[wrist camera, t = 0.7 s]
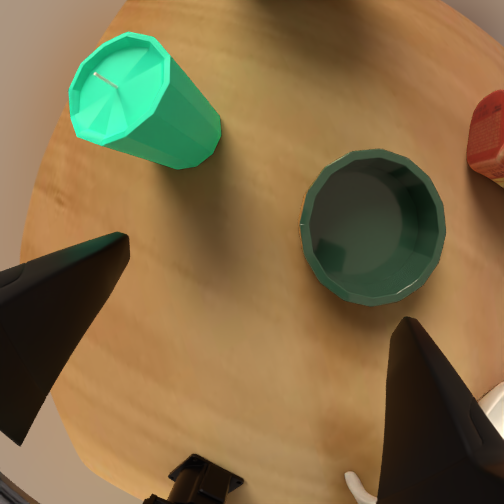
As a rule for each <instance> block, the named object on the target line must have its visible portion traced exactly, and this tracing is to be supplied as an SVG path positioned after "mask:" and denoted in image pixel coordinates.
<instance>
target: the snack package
mask: <svg viewBox="0 0 504 504" xmlns="http://www.w3.org/2000/svg"><path fill="white" fill-rule="evenodd" d="M467 162H468V164H469V166H470V167H471V168H472V169H473V170H474V171H476V172H478V173H480V174H483V175H485V176H486V177H488V178H490V179H491V180H492V181H494V182H496V183H497V184H499V185H500V186H501V187H503V188H504V90H497V91H494V92H492V93H491V94H489V95H488V96H486V97H485V98H483V100H482V101H481V102H479V104H478V105H477V107H476V109H475V110H474V113H473V116H472V120H471V124H470V131H469V138H468V145H467Z"/></svg>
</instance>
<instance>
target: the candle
mask: <svg viewBox="0 0 504 504" xmlns="http://www.w3.org/2000/svg"><path fill="white" fill-rule="evenodd" d="M68 91H69V106H70V118H71V121H72V124H73V127H74V130H75V133H76V135H77V137H79V138H82V139H84V140H87V141H90V142H92V143H95V144H98V145H100V146H104V147H107V148H110V149H114V150H117V151H120V152H124V153H127V154H130V155H133V156H136V157H140V158H143V159H146V160H149V161H152V162H155V163H158V164H161V165H164V166H167V167H170V168H173V169H176V170H179V169H185V168H191V167H197V166H198V165H199V164H200V163H202V162H203V161H204V160H206V159H207V158H208V157H209V156H211V155H212V154H213V152H214V150H215V148H216V146H217V144H218V142H219V140H220V137H221V124H220V116H219V115H218V113H217V112H216V111H215V110H214V108H213V107H212V106H211V104H210V103H209V102H208V101H207V99H206V98H205V97H204V96H203V94H202V93H201V92H200V91H199V90H198V88H197V87H196V86H195V85H194V83H193V82H192V81H191V80H190V79H189V77H188V76H187V75H186V74H185V72H184V71H183V70H182V69H181V68H180V66H179V65H178V64H177V63H176V62H175V61H174V59H173V58H172V57H171V56H170V55H169V54H168V52H167V51H166V50H165V49H164V48H163V47H162V45H161V44H160V43H159V42H158V41H157V40H156V39H155V38H154V37H152V36H147V35H143V34H138V33H133V32H126V33H124V34H121V35H119V36H117V37H115V38H113V39H111V40H109V41H107V42H105V43H103V44H102V45H101V46H100V47H98V48H97V49H96V50H95V51H94V52H93V53H92V54H90V55H89V56H88V57H87V58H86V59H85V60H84V61H83V62H82V63H81V64H80V66H79V68H78V70H77V73H76V74H75V77H74V79H73V81H72V83H71V85H70V88H69V90H68Z"/></svg>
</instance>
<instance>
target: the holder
mask: <svg viewBox="0 0 504 504" xmlns="http://www.w3.org/2000/svg"><path fill="white" fill-rule="evenodd" d="M298 228H299V235H300V241H301V248H302V251H303V254H304V257H305V259H306V260H307V262H308V264H309V265H310V267H311V269H312V270H313V272H314V274H315V276H316V277H317V279H318V281H319V282H320V283H321V284H322V285H323V286H325V287H326V288H327V289H329V290H330V291H332V292H333V293H334V294H336V295H337V296H338V297H340V298H341V299H342V300H344V301H348V302H352V303H356V304H361V305H365V306H369V307H373V306H379V305H384V304H389V303H394V302H399V301H401V300H402V299H404V298H405V297H407V296H408V295H410V294H411V293H413V292H414V291H416V290H417V289H419V288H420V287H422V286H423V285H424V283H425V282H426V280H427V279H428V278H429V276H430V275H431V273H432V272H433V270H434V269H435V267H436V266H437V264H438V263H439V260H440V256H441V253H442V249H443V245H444V240H445V236H446V225H445V215H444V207H443V203H442V201H441V199H440V196H439V194H438V192H437V190H436V188H435V186H434V185H433V183H432V181H431V179H430V178H429V176H428V175H427V174H426V173H424V172H423V171H422V170H421V169H420V168H419V167H418V166H417V165H416V164H414V163H413V162H412V161H411V160H410V159H409V158H407V157H404V156H401V155H399V154H396V153H393V152H390V151H387V150H384V149H369V150H359V151H352V152H349V153H347V154H346V155H344V156H342V157H341V158H339V159H337V160H336V161H334V162H332V163H330V164H329V165H327V166H326V167H325V168H324V169H323V170H322V171H321V172H320V174H319V175H318V176H317V178H316V179H315V180H314V182H313V183H312V185H311V186H310V187H309V189H308V190H307V192H306V193H305V194H304V197H303V201H302V205H301V208H300V214H299V218H298Z"/></svg>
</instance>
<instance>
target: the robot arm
mask: <svg viewBox="0 0 504 504" xmlns="http://www.w3.org/2000/svg"><path fill="white" fill-rule="evenodd" d="M129 259H130V245H129V237H128V235H127V234H124V233H121V232H114V233H111V234H108V235H104V236H101V237H98V238H95V239H92V240H89V241H86V242H83V243H80V244H77V245H74V246H71V247H68V248H65V249H62V250H59V251H56V252H53V253H51V254H48V255H45V256H42V257H39V258H37V259H34V260H31V261H28V262H27V263H23V264H20V265H18V266H15V267H12V268H9V269H6V270H4V271H1V272H0V431H1V432H3V433H4V434H5V435H6V436H7V437H9V438H10V439H11V440H12V441H13V442H15V443H16V444H17V445H18V446H21V445H22V443H23V441H24V439H25V437H26V435H27V433H28V431H29V429H30V427H31V425H32V423H33V421H34V419H35V418H36V416H37V414H38V412H39V410H40V408H41V406H42V404H43V403H44V401H45V399H46V396H47V395H48V393H49V392H50V390H51V388H52V386H53V385H54V383H55V381H56V379H57V378H58V376H59V374H60V373H61V371H62V369H63V368H64V366H65V364H66V363H67V361H68V359H69V358H70V356H71V354H72V353H73V351H74V350H75V348H76V346H77V345H78V343H79V342H80V340H81V339H82V337H83V335H84V334H85V332H86V331H87V329H88V328H89V326H90V325H91V323H92V322H93V320H94V319H95V317H96V316H97V314H98V313H99V311H100V310H101V308H102V307H103V305H104V304H105V302H106V301H107V299H108V298H109V296H110V294H111V293H112V291H113V289H114V287H115V285H116V284H117V282H118V280H119V278H120V276H121V275H122V273H123V271H124V269H125V268H126V266H127V264H128V262H129ZM168 477H169V479H171V480H173V481H174V482H175V484H174V486H173V488H172V490H171V492H170V495H169V497H168V499H167V500H165V499H162V498H160V497H157V495H154V494H152V495H151V496H150V498H147V499H145V500H144V502H143V504H225V502H226V498H227V495H228V493H230V492H231V491H233V490H235V489H236V488H238V487H239V486H241V485H242V484H243V482H244V480H243V479H242V478H240V477H238V476H236V475H234V474H232V473H230V472H228V471H226V470H224V469H223V468H221V467H219V466H217V465H215V464H213V463H211V462H210V461H208V460H206V459H204V458H202V457H201V456H199V455H197V454H192V455H190V456H189V457H188V458H187V459H186V460H185V461H184V462H182V463H181V464H180V465H179V466H178V467H177V468H175V469H174V470H173V471H172V472H171V473H170V474H169V476H168ZM0 504H40V503H38V502H37V501H36V500H34V499H33V498H32V497H30V496H29V495H28V494H26V493H25V492H24V491H23V490H21V489H20V488H19V487H17V486H16V485H15V484H14V483H13V482H12V481H10V480H9V479H8V478H7V477H6V476H5V475H3V474H2V473H1V472H0ZM376 504H504V439H503V438H502V436H501V435H500V434H499V432H498V431H497V430H496V428H495V427H494V425H493V424H492V423H491V421H490V420H489V419H488V417H487V416H486V414H485V413H484V411H483V410H482V408H481V407H480V405H479V404H478V402H477V401H476V399H475V398H474V397H473V395H472V394H471V392H470V391H469V389H468V388H467V386H466V385H465V383H464V382H463V380H462V379H461V378H460V376H459V375H458V373H457V372H456V371H455V369H454V368H453V366H452V365H451V364H450V362H449V361H448V360H447V358H446V357H445V355H444V354H443V353H442V351H441V350H440V349H439V347H438V346H437V345H436V343H435V342H434V341H433V340H432V338H431V337H430V336H429V334H428V333H427V332H426V330H425V329H424V328H423V327H422V325H421V324H420V323H419V322H418V320H417V319H415V318H411V317H408V316H406V317H404V318H403V319H402V320H401V322H400V323H399V325H398V326H397V327H396V329H395V330H394V332H393V333H392V335H391V339H390V349H389V360H388V369H387V379H386V410H385V429H384V443H383V455H382V465H381V473H380V481H379V489H378V496H377V501H376Z"/></svg>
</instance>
